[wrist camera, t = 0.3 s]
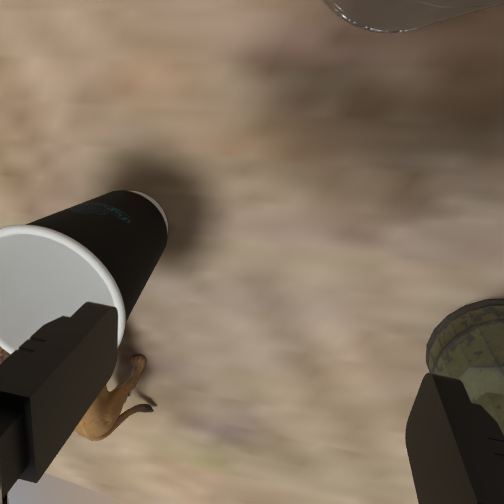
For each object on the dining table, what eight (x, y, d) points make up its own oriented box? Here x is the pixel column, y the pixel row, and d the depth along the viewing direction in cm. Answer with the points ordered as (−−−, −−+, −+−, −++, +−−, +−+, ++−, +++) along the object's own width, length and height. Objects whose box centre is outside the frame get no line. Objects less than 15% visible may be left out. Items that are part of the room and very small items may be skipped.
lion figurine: (30, 273, 34) (-65, 342, 25) (83, 248, 32) (-1, 314, 24) (131, 413, 38) (78, 510, 30) (182, 397, 36) (141, 496, 28)
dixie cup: (150, 146, 28) (53, 197, 18) (211, 250, 30) (155, 346, 20) (58, 197, 30) (-71, 266, 20) (121, 289, 33) (32, 391, 23)
